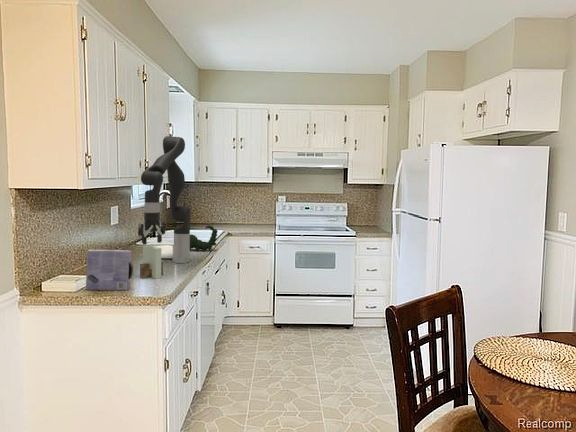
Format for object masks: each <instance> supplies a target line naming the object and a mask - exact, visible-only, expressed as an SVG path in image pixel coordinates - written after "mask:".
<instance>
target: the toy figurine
mask: <svg viewBox="0 0 576 432" xmlns="http://www.w3.org/2000/svg"><path fill="white" fill-rule="evenodd" d="M205 229H209V230H211V231H212V232H211V234H210V235H211V236H210V238H209V240H208V241H203V240H201V239H198V237H197V236H196V235H195V234H190V251H191V250H192V249H195V251H196V250H198V251H199V250H201V251H202V250H203V251H204V252H206V251H207V250H209V251H211V250H212V249H213V246H216V245H217V243H216V241H217V240H218V238H217V236H218V230H217V228H214V226H213V225H207V226H205ZM203 251H202V252H203Z"/></svg>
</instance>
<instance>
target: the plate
mask: <svg viewBox="0 0 576 432" xmlns="http://www.w3.org/2000/svg"><path fill="white" fill-rule="evenodd" d="M153 247H158V248H161V259H173V245H165V244H164V245H153Z"/></svg>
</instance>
